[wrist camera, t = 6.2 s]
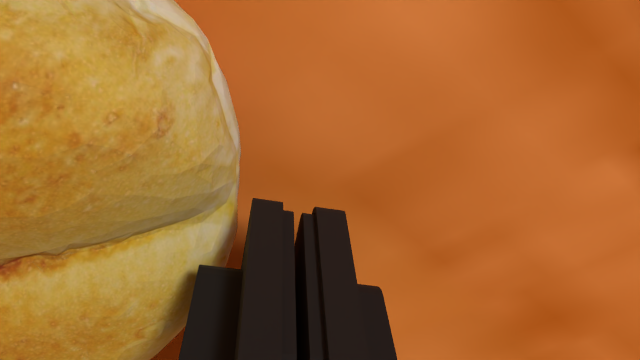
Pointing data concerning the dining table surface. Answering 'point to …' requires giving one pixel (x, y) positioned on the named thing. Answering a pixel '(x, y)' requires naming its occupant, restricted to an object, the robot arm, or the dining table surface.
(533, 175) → the dining table surface
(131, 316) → the bread roll
